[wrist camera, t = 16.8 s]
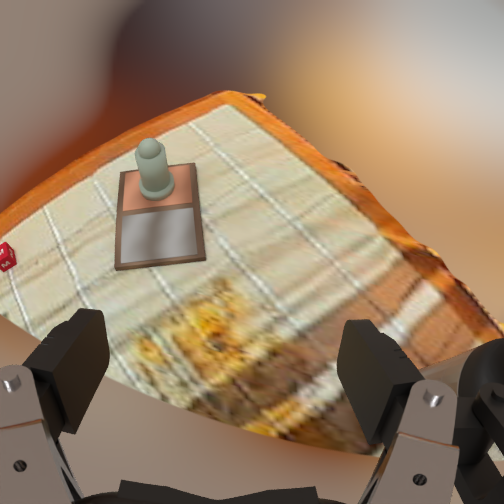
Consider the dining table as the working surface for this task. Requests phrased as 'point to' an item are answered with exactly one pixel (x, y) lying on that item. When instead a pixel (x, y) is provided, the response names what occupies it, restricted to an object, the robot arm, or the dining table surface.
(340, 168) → the dining table surface
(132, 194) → the brown flat rectangular board
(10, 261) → the dice
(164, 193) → the pawn
